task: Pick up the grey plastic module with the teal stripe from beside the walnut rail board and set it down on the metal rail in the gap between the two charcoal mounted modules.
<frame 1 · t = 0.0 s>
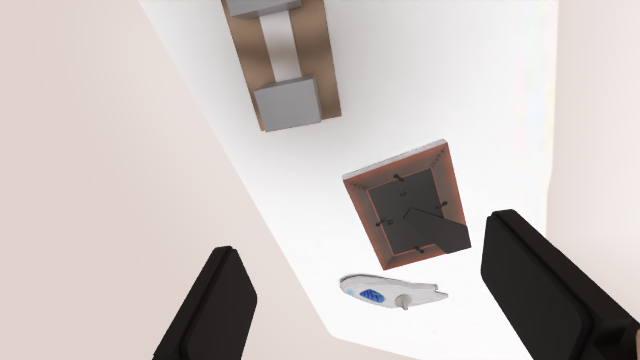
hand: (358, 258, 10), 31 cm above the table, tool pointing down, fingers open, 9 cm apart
picture frame: (407, 207, 47), on the table
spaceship: (392, 283, 55), on the table
mounted modules: (277, 48, 30), on the rail board, point 5 cm above the table
rail board: (284, 47, 35), on the table
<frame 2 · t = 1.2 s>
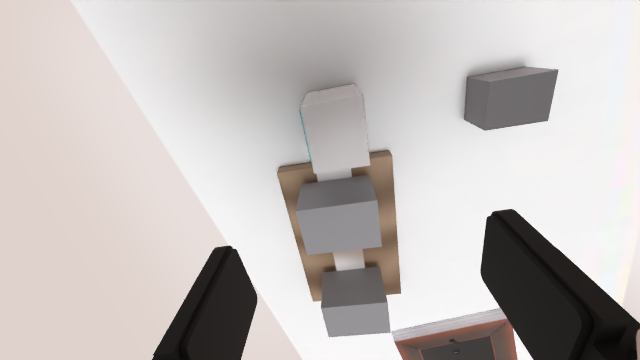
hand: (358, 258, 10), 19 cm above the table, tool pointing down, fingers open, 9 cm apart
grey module: (335, 116, 26), on the table
picture frame: (456, 354, 44), on the table
mounted modules: (347, 261, 28), on the rail board, point 5 cm above the table
rail board: (345, 232, 33), on the table
grey rectangular block: (492, 94, 25), on the table
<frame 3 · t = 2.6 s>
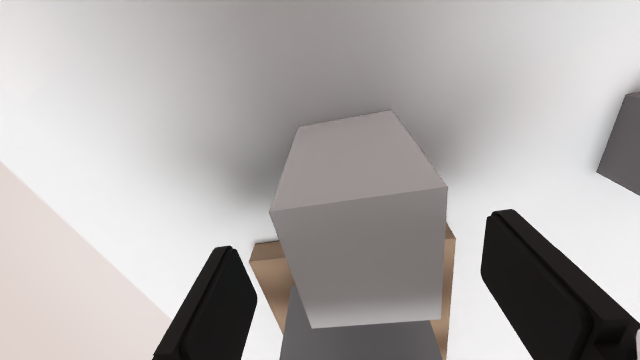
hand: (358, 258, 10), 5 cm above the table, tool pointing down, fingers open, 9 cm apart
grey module: (351, 167, 14), on the table
rail board: (363, 325, 21), on the table
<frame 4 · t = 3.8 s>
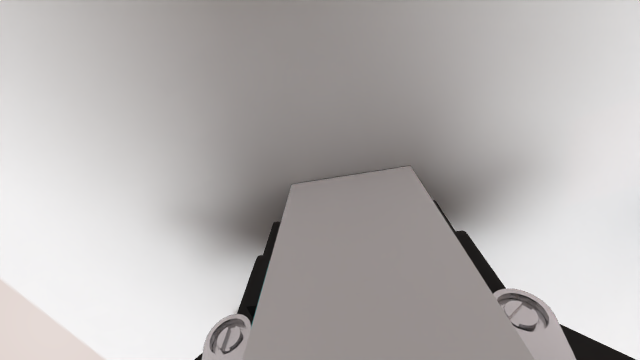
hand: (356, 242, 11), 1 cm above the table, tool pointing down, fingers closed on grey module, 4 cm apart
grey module: (358, 231, 11), on the table, touching gripper
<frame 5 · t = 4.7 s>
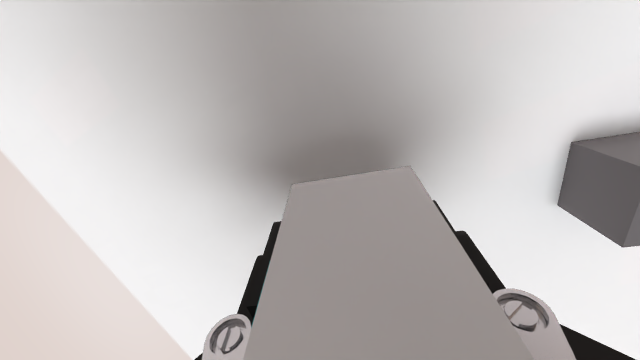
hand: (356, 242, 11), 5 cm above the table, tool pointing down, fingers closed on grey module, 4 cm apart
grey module: (358, 230, 11), point 5 cm above the table, touching gripper
grey rectangular block: (610, 168, 15), on the table
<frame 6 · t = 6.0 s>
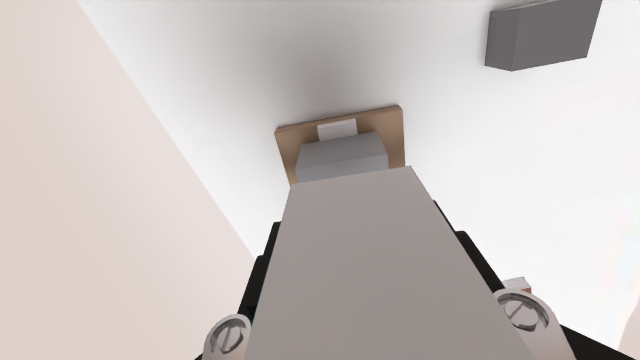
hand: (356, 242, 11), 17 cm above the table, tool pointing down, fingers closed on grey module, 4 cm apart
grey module: (358, 231, 11), point 16 cm above the table, touching gripper
mounted modules: (353, 229, 26), on the rail board, point 5 cm above the table
rail board: (350, 200, 30), on the table
grey rectangular block: (518, 33, 21), on the table
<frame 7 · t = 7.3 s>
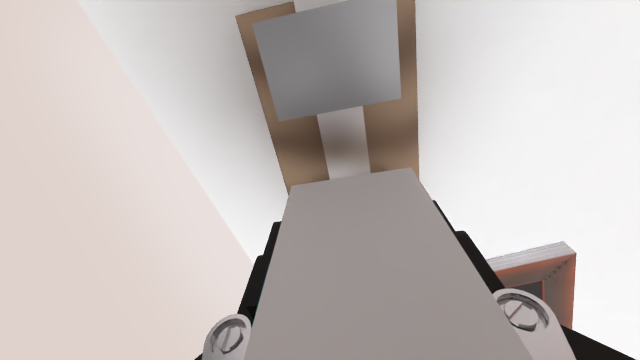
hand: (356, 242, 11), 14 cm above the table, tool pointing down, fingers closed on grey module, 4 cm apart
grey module: (358, 232, 11), point 13 cm above the table, touching gripper
picture frame: (488, 311, 35), on the table
mounted modules: (345, 153, 19), on the rail board, point 5 cm above the table
rail board: (343, 132, 23), on the table
when the fingers open (4 cm above the table, at t = 9.3 s): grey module drops 1 cm, resting on rail board.
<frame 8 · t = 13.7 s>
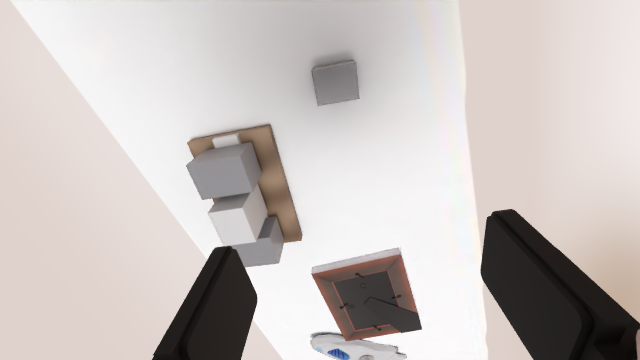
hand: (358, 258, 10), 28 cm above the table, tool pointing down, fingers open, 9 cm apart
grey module: (248, 199, 40), point 2 cm above the table, touching rail board
picture frame: (368, 292, 53), on the table
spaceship: (358, 341, 60), on the table
mounted modules: (242, 208, 37), on the rail board, point 5 cm above the table
rail board: (252, 191, 42), on the table
grey rectangular block: (335, 80, 34), on the table
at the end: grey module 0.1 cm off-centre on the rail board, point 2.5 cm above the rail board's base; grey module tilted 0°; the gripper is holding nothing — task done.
